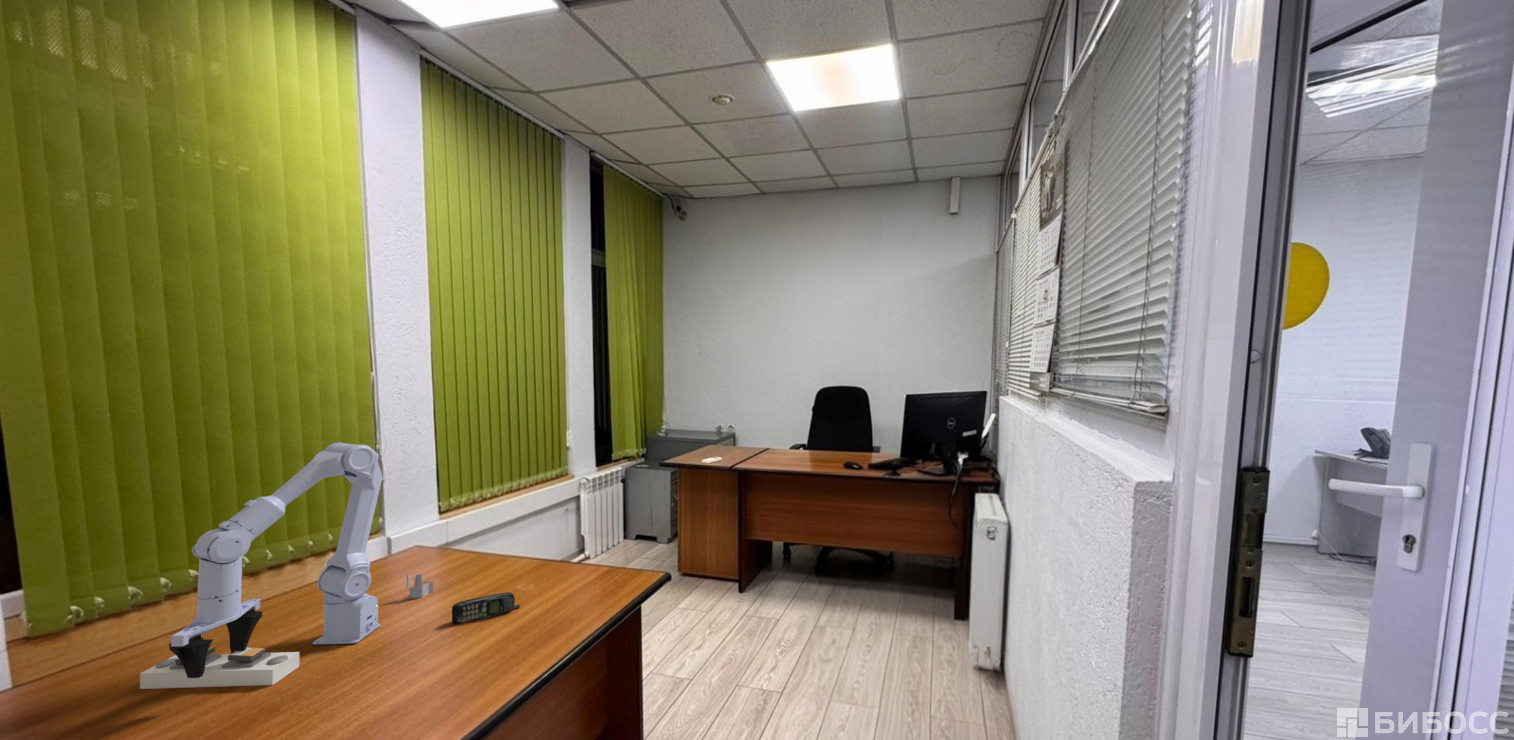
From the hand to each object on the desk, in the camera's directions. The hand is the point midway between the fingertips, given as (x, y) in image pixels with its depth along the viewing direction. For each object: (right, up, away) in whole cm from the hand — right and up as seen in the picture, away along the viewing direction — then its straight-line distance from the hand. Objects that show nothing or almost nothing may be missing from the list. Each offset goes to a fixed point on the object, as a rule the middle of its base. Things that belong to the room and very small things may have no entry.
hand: (217, 664), depth 95 cm
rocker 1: (-8, -1, +3) cm, 9 cm away
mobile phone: (+36, -5, +29) cm, 46 cm away
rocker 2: (+2, -1, +4) cm, 4 cm away
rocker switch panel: (-3, -5, +4) cm, 7 cm away
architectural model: (+7, -6, +42) cm, 43 cm away
